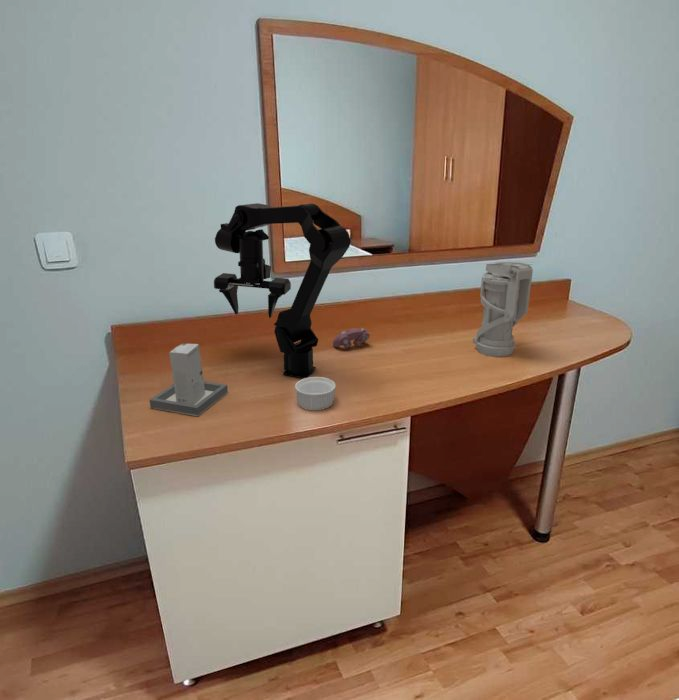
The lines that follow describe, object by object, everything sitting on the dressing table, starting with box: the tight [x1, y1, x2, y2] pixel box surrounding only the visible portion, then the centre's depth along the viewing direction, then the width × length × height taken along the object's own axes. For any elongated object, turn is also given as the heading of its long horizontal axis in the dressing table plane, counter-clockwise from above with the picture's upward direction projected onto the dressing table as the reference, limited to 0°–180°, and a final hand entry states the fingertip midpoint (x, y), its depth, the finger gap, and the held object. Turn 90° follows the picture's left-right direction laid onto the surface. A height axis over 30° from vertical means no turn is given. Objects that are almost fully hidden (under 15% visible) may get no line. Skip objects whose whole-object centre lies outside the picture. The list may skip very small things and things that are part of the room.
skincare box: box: [168, 343, 205, 405], centre depth 113 cm, size 6×4×12 cm
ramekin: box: [294, 376, 336, 411], centre depth 113 cm, size 9×9×4 cm
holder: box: [149, 380, 229, 417], centre depth 114 cm, size 12×12×2 cm
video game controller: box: [332, 327, 371, 350], centre depth 144 cm, size 10×5×7 cm, turn 116°
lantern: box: [472, 261, 534, 358], centre depth 136 cm, size 13×10×25 cm
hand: (253, 315), depth 133 cm, fingers open, 9 cm apart
